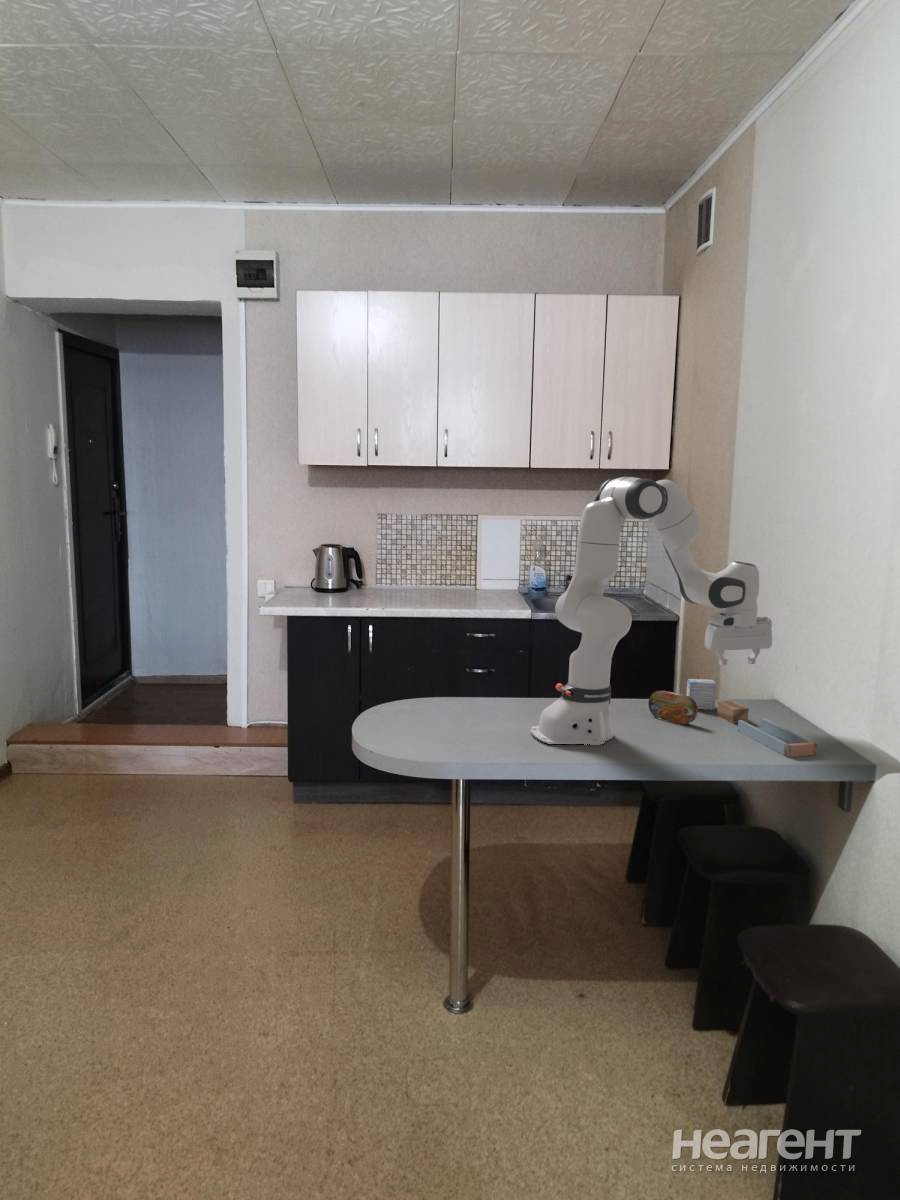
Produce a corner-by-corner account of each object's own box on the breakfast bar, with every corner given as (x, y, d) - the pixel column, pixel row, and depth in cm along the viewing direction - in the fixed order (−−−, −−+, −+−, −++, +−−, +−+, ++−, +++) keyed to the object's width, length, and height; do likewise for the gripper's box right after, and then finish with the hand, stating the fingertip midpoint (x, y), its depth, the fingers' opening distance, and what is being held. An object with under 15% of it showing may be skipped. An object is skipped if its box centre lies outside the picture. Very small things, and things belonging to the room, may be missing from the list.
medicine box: (711, 706, 252) (713, 679, 251) (714, 710, 248) (716, 683, 246) (685, 705, 253) (687, 678, 252) (688, 709, 249) (689, 682, 247)
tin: (647, 715, 241) (648, 688, 240) (652, 713, 244) (654, 686, 242) (692, 728, 231) (694, 699, 229) (698, 725, 233) (700, 697, 232)
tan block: (732, 724, 235) (733, 709, 234) (716, 716, 243) (718, 701, 242) (747, 723, 236) (748, 708, 236) (731, 715, 244) (732, 700, 243)
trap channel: (787, 757, 208) (788, 746, 207) (737, 730, 229) (738, 720, 229) (816, 754, 210) (817, 743, 210) (764, 728, 231) (765, 718, 231)
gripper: (765, 614, 239) (761, 660, 241) (703, 616, 234) (700, 663, 237) (778, 618, 233) (775, 665, 235) (715, 620, 228) (712, 668, 231)
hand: (737, 664), depth 236 cm, fingers open, 8 cm apart
